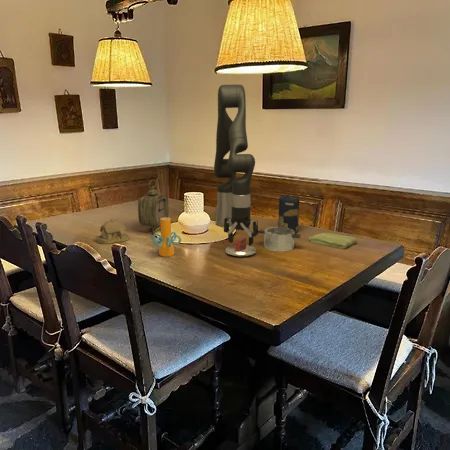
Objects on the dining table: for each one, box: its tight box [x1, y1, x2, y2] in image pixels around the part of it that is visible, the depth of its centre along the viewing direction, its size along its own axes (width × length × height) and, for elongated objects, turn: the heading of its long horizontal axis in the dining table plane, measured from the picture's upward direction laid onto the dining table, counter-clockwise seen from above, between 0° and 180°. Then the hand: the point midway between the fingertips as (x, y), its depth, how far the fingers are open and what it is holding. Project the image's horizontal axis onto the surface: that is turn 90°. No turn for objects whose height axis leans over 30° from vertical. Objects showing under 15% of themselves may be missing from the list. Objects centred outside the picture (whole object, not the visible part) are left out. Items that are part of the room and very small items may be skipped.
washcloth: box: [308, 232, 358, 250], centre depth 188 cm, size 13×18×3 cm
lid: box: [225, 236, 257, 257], centre depth 174 cm, size 12×12×6 cm
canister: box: [277, 194, 300, 233], centre depth 203 cm, size 10×10×18 cm
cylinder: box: [151, 217, 182, 258], centre depth 171 cm, size 12×10×15 cm
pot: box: [258, 226, 302, 252], centre depth 182 cm, size 18×12×7 cm
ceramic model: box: [95, 218, 131, 245], centre depth 191 cm, size 14×11×10 cm
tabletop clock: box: [137, 179, 169, 235], centre depth 203 cm, size 14×9×25 cm, turn 161°
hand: (240, 244), depth 173 cm, fingers open, 8 cm apart
